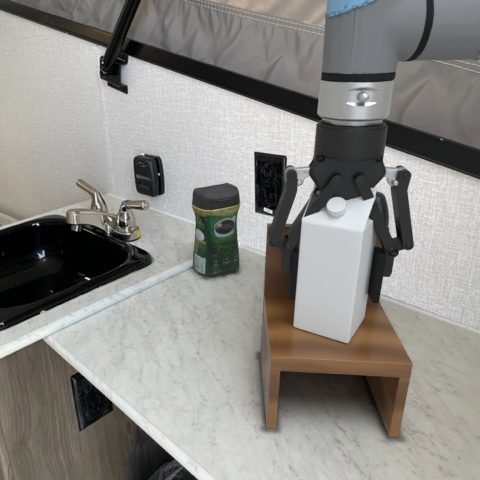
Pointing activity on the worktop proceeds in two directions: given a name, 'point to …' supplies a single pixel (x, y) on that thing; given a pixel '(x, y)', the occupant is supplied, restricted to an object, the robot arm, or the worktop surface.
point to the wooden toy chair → (330, 348)
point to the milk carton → (335, 268)
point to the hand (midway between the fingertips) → (331, 296)
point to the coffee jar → (216, 229)
